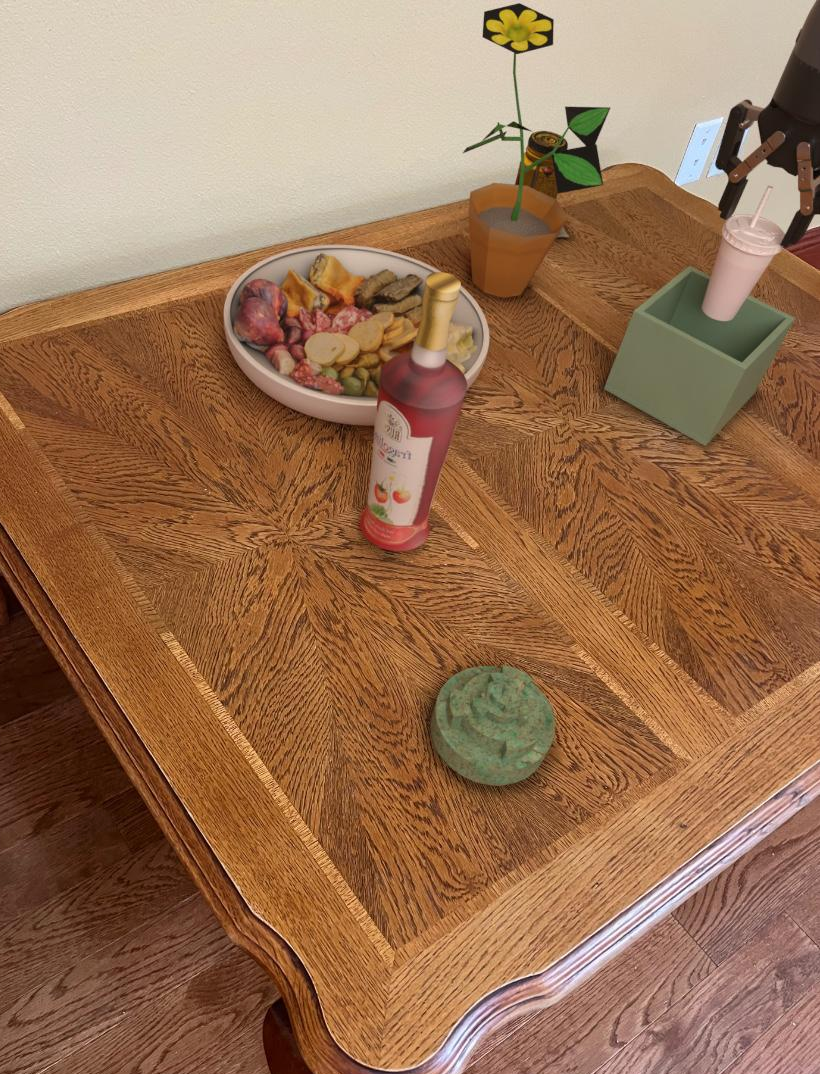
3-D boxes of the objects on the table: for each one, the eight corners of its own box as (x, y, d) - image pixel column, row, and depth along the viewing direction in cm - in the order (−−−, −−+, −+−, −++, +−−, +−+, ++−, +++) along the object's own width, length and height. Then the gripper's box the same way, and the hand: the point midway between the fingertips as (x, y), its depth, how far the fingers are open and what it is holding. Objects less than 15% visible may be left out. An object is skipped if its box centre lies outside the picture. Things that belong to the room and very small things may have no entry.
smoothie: (709, 287, 107) (763, 166, 96) (757, 315, 104) (818, 194, 93) (678, 306, 103) (731, 184, 92) (727, 335, 101) (787, 213, 90)
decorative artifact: (457, 799, 75) (567, 768, 78) (475, 756, 70) (592, 724, 72) (412, 697, 81) (516, 672, 84) (426, 649, 75) (536, 624, 78)
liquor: (444, 538, 93) (510, 289, 71) (393, 573, 89) (445, 323, 67) (392, 496, 96) (441, 244, 74) (340, 529, 92) (374, 274, 70)
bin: (656, 342, 118) (689, 265, 110) (754, 394, 114) (795, 317, 105) (603, 389, 111) (633, 310, 102) (705, 446, 106) (745, 369, 98)
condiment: (498, 210, 134) (518, 125, 125) (554, 211, 136) (578, 127, 127) (511, 238, 130) (532, 152, 121) (568, 239, 131) (594, 154, 122)
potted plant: (400, 271, 122) (441, 15, 98) (497, 230, 131) (554, -13, 107) (501, 341, 114) (570, 84, 91) (595, 293, 124) (680, 48, 100)
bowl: (428, 271, 122) (438, 214, 116) (521, 422, 105) (539, 365, 99) (199, 290, 114) (197, 230, 108) (260, 458, 97) (262, 398, 91)
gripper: (928, 74, 83) (834, 247, 96) (779, 17, 88) (709, 189, 101) (900, 97, 79) (806, 274, 92) (746, 36, 84) (677, 213, 97)
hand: (755, 229), depth 96 cm, fingers closed on smoothie, 6 cm apart
